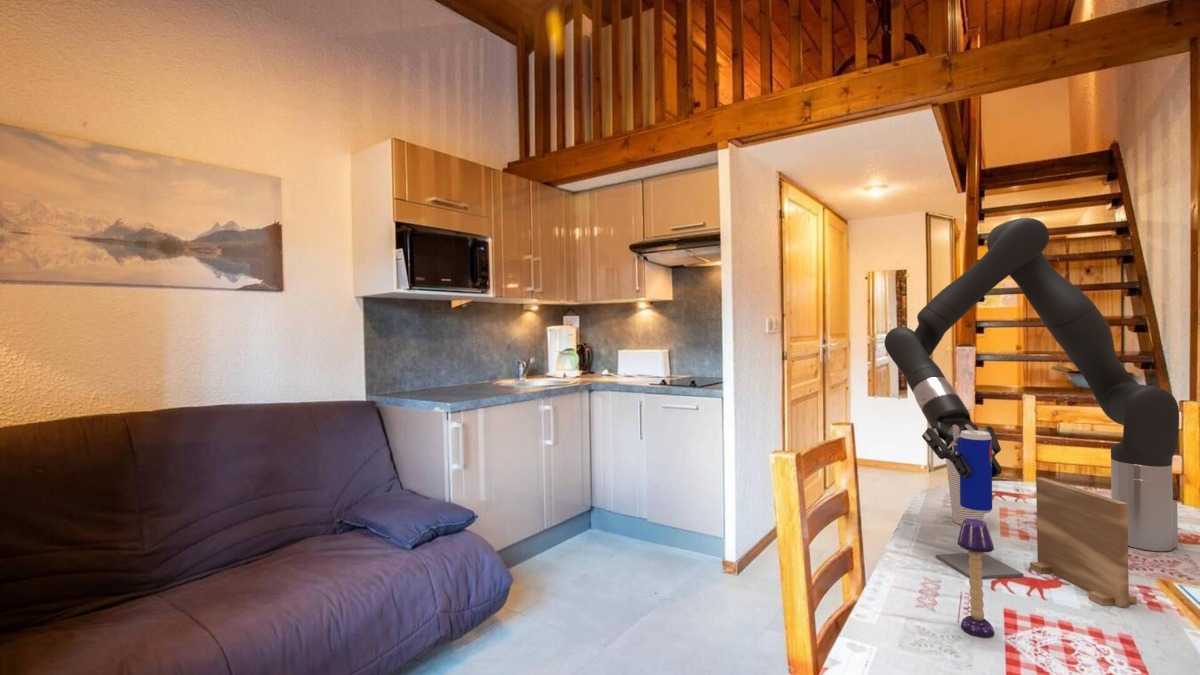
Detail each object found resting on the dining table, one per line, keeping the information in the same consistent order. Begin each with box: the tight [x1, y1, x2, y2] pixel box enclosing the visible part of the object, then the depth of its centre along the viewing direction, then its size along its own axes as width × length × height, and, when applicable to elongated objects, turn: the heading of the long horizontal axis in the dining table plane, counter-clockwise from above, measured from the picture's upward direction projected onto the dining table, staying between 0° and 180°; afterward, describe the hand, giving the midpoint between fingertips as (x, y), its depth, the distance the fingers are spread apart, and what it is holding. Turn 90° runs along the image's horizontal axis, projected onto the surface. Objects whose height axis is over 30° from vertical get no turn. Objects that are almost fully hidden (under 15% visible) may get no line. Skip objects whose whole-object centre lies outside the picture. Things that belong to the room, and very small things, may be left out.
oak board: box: [1029, 477, 1138, 608], centre depth 99 cm, size 6×16×17 cm, turn 3°
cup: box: [945, 459, 985, 526], centre depth 131 cm, size 8×8×16 cm
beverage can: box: [959, 430, 993, 514], centre depth 107 cm, size 5×5×15 cm
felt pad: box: [935, 552, 1025, 580], centre depth 107 cm, size 10×10×1 cm
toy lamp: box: [957, 519, 995, 638], centre depth 85 cm, size 5×5×17 cm
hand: (982, 475), depth 105 cm, fingers closed on beverage can, 5 cm apart
